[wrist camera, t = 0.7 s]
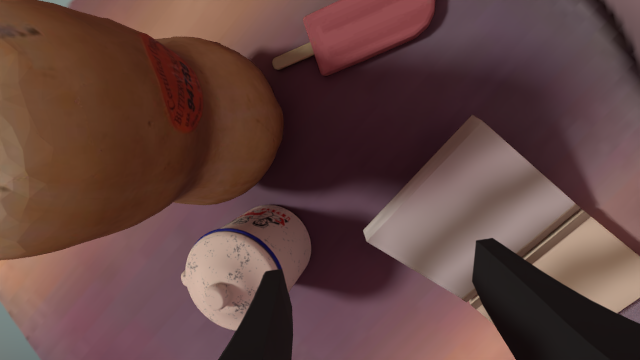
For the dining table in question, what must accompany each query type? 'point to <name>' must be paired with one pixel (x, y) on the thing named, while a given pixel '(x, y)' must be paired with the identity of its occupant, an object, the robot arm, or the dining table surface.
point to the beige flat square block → (468, 208)
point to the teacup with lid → (244, 261)
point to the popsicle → (358, 31)
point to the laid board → (586, 263)
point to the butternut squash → (119, 126)
